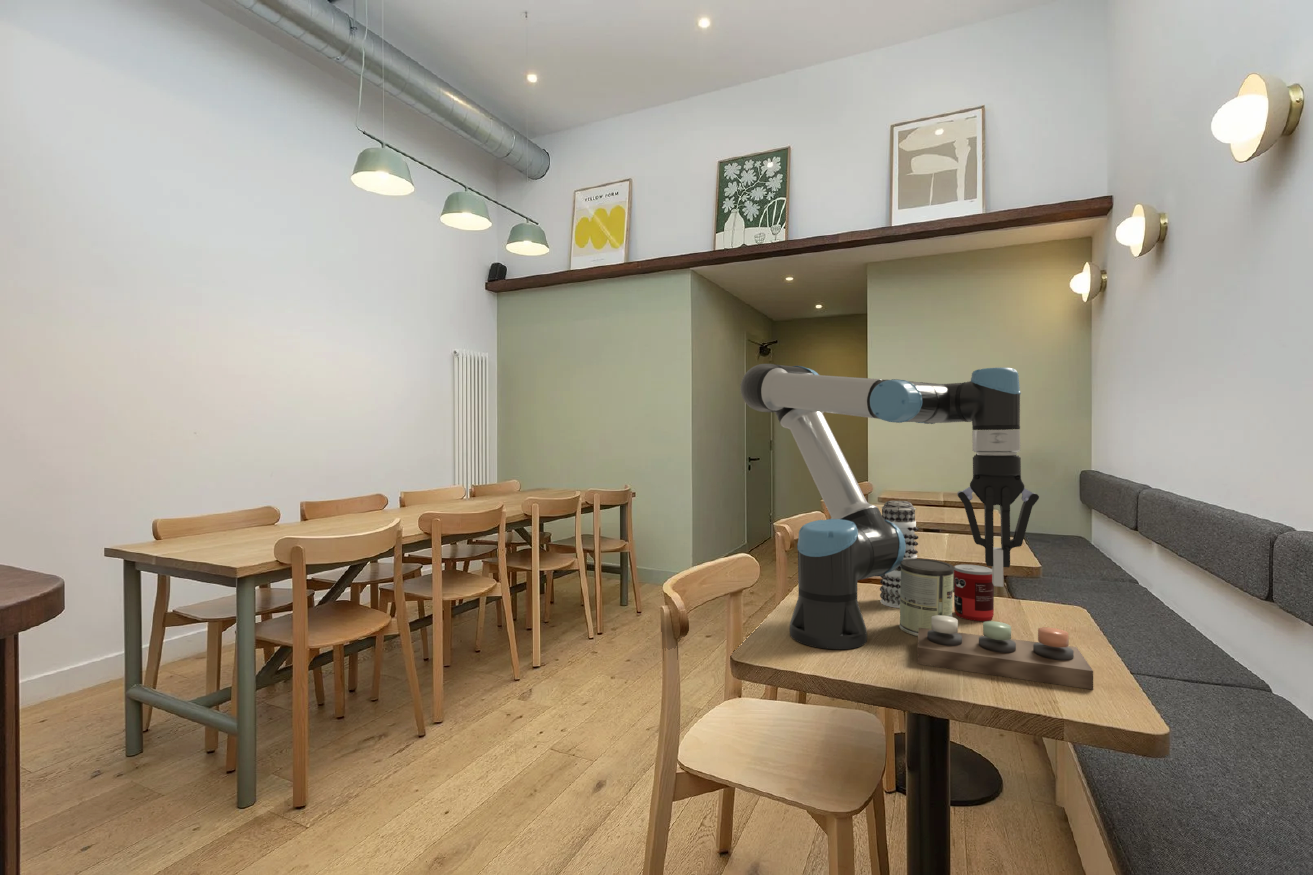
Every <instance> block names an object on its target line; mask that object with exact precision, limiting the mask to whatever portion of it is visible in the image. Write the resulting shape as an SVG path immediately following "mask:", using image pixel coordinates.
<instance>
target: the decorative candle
mask: <svg viewBox="0 0 1313 875" xmlns="http://www.w3.org/2000/svg"><path fill="white" fill-rule="evenodd" d="M880 508H881V515H882V517H883V518H884V520H888V521H889V522H891V523H894V524H895V525H896V526H897V527H898V528H899V529H900V530H901V532H902V534H903V536H904V539H905V544H906V551H905V555H904V558H903V560H905V559H915V558H916V559H918V550H916V549H915V547H917V546H919V543H918V542H917V541H916V540H918V539H919V536H918V535H917V534H915V532H918V531H919V530H920V528H919V527H917V521H916V510H917V508H915V507H914V505H913V504H912V503H911V502H910V501H904V500H888V501H886V502H885V503H884V505H883V506H881V507H880ZM879 577H880V578H881V579H880V581H879V583H880V584H881V586H880V588H879V591H880V594H879V596H880V598H881V599H880V600H879V601H880V603H882V604H881V605H884V606H886V607H889V608H894V609H900V592H901V564H900V565H899V567H898V568H896V569H895V570H893V571H891V572H889V573H887V574H884V575H882V576H879Z"/></svg>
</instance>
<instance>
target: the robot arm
mask: <svg viewBox="0 0 1313 875" xmlns="http://www.w3.org/2000/svg"><path fill="white" fill-rule="evenodd" d="M1019 377H1020V375H1019V373H1018V371H1017V369H1015V368H1011V367H987V368H979V369H975V370H973V371H972V373H971V378H970V380H968V381H964V382H953V383H934V382H933V383H932V382H922V381H921V382H920V381H919V382H918V381H911V380H905V379H897V378H896V379H894V378H893V379H881V378H868V377H853V376H852V377H851V376H849V377H848V376H837V375H824V374H823V375H821V374H819V373H818V372H817V371H815V370H814V369H812V368H808V367H805V366H802V365H792V366H791V365H783V364H782V365H781V364H775V363H774V364H773V363H760V364H757V365H754V366H752V367H751V368H750V369H748V370H747V371H746V373H744V375H743V376H742V379H741V381H740V382H741V383H740V394H741V397H742V399H743V401H744V403H745V404H746V405H747V406H748V407H749V408H750V409H753V410H755V411H757V412H760V413H762V412H763V413H775V415H776V418H777V419H778V421H779V424H780V426H781V428H782V427H783V428H785V429H788V430H790V433H791V435H792V437H793V439H794V441H795V443H796V445H797V448H798V449H799V452H800V455H801V456H802V459H803V460H804V463H805V464H806V467H807V469H808V472H809V473H810V475H811V477H812V479H813V482H814V484H815V486H816V488H817V490H818V492H819V494H820V496H821V499H822V501H823V503H824V506H825V507H826V509H827V512H828V513H829V516H830V517H831V518H829V519H819V520H813V521H810V522H807V523H805V524H803V525H802V526H801V527H800V529H799V530H798V538H797V539H798V541H797V545H796V546H797V547H796V549H797V573H798V574H797V576H798V578H797V580H798V582H797V586H798V589H797V590H798V596H797V601H796V603H795V607H794V610H793V613H792V616H791V619H790V622H789V635H790V637H791V638H792V639H793V640H795V641H796V642H798V643H801V644H803V645H805V646H809V647H814V648H820V649H826V650H850V649H855V648H859V647H861V646H862V647H863V646H864V645H865V644H866V643H867V641H868V640H867V639H868V634H867V633H868V631H867V627H866V626H867V625H866V624H865V621H864V618H863V615H862V612H861V608H860V605H859V601H858V581H861V580H865V579H870V578H873V577H880V576H882V575H884V574H887V573H889V572H891V571H893V570H895V569H896V568H898V567H899V565H900V564H901V561H903V558H904V555H905V551H906V544H905V539H904V536H903V534H902V532H901V530H900V529H899V528H898V527H897V526H896V525H895V524H894V523H891V522H889V521H888V520H884V518H883V517H882V512H880V511H881V510H880V509H879V507H878V506H877V505H874V504H871V503H870V502H868V501H867V499H866V497H865V496H864V493H863V491H862V489H861V487H860V485H859V483H858V481H857V479H856V477H855V474H854V473H853V471H852V469H851V467H850V465H849V463H848V461H847V459H846V457H845V454H844V453H843V451H842V449H841V447H840V446H839V443H838V442H837V439H836V437H835V435H834V434H833V433H834V432H833V431H832V429H831V427H830V425H829V423H828V421H827V420H826V417H825V415H824V413H829V414H838V415H846V416H852V417H853V416H854V417H862V418H870V419H878V420H881V421H884V422H888V423H896V424H897V423H899V424H900V423H917V424H924V425H925V424H927V425H928V424H929V425H930V424H931V425H934V424H942V423H943V424H946V423H963V422H966V423H970V422H971V425H972V427H971V428H972V429H971V430H972V433H971V434H972V435H971V436H972V440H971V442H972V451H973V452H974V453H976V454H974V455H973V457H972V479H971V481H970V482H969V486H968V487H966V488H965V489H963V490H959V491H957V498H959V500H960V501H961V502H962V503H963V506H964V510H965V514H966V518H967V521H968V524H969V528H970V531H971V535H972V539H973V541H974V543H975V545H979V546H982V547H983V548H984V556H985V557H984V559H985V560H984V562H985V564H986V567H991V569H992V583H993V585H994V587H1000V588H1002V587H1003V588H1004V568H1010V566H1011V550H1012V549H1014V548H1019V547H1020V548H1021V546H1022V545H1023V542H1024V538H1025V535H1026V532H1027V527H1028V525H1029V524H1028V523H1029V520H1030V516H1031V513H1032V509H1033V507H1034V505H1035V504H1036V503H1037V502H1038V500H1039V499H1040V496H1039V494H1037V493H1036V492H1032V491H1031V490H1028V489H1027V488H1025V484H1024V482H1023V480H1022V468H1021V467H1022V463H1021V462H1022V461H1021V457H1020V455H1017V454H1018V453H1020V452H1021V425H1020V424H1021V422H1020V421H1021V416H1020V415H1021V409H1020V408H1021V394H1022V392H1021V389H1020V388H1021V386H1020V378H1019ZM973 493H974V495H976V497H977V498H978V499H979V500H980V502H981V503H982V504H983V508H984V511H983V512H984V516H983V517H984V538H983V537H982V536H981V532H980V529H979V525H978V521H977V518H976V516H975V515H976V514H975V511H974V507H973V505H972V502H971V501H972V500H973ZM1020 495H1021V500H1022V504H1021V508H1020V512H1019V515H1018V519H1017V521H1016V522H1017V523H1016V525H1015V530H1014V534H1013V537H1012V538H1011V505H1012V504H1013V503H1014V502H1015V501H1016V500H1017V498H1019V496H1020ZM994 506H999V510H1000V545H1001V546H1000V547H996V546H995V547H994V543H995V542H994V541H995V540H994V538H995V537H994V532H995V531H994V510H995V508H994Z"/></svg>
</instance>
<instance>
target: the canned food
mask: <svg viewBox="0 0 1313 875" xmlns="http://www.w3.org/2000/svg"><path fill="white" fill-rule="evenodd" d="M953 566H954V572H953V609H954V613H955V614H954V615H956V616H957V617H959V618H962V619H965V620H969V621H973V620H974V621H975V622H986V621H993V618H994V614H995V613H994V612H995V611H994V610H995V609H994V604H995V603H994V602H995V601H994V596H995V595H994V592H995V590H994V589H995V588H994V587H995V586H994V585H993V583H992V567H991V568H990V567H989V566H984V565H983V566H982V565H978V564H977V565H975V564H956V565H953Z"/></svg>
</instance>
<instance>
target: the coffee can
mask: <svg viewBox="0 0 1313 875" xmlns="http://www.w3.org/2000/svg"><path fill="white" fill-rule="evenodd" d="M954 566H955V565H952V564H951V563H949V562H945V561H942V560H937V559H936V560H935V559H930V558H915V559H905V560H903V561H901V592H900V608H899V624H898V627H899V628H900V630H901V631H903V632H905V633H907V634H909V635H912V636H916V637H918V632H919V628H926V629H932V624H931V617H932V616H936V615H942V616H949V617H953V602H954Z"/></svg>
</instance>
